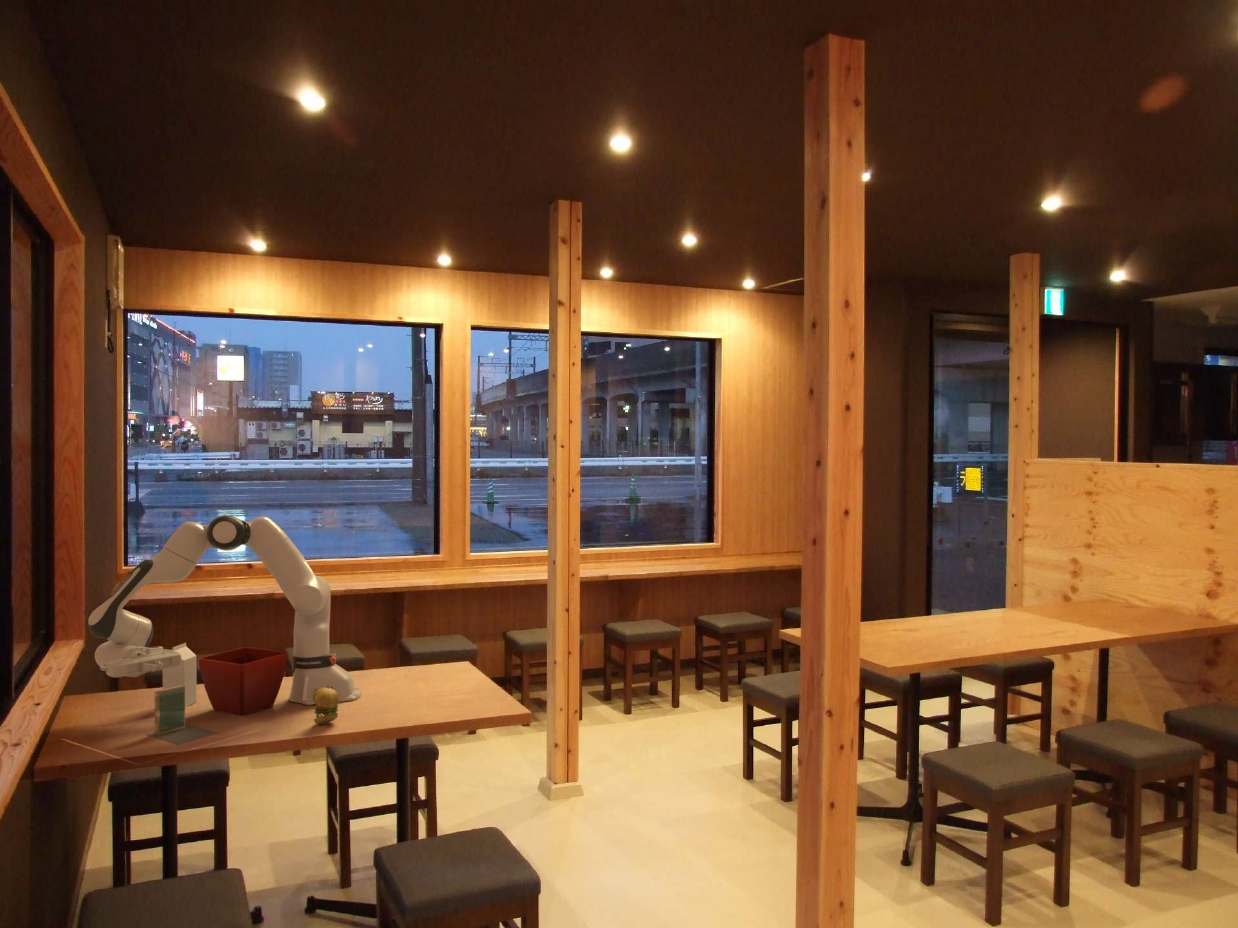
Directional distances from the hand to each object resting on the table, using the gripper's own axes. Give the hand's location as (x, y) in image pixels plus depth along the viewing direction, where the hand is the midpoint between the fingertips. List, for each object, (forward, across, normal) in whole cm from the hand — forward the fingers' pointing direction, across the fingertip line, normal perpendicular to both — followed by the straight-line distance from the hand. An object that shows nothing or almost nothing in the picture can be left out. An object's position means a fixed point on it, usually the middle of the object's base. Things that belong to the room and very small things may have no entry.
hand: (158, 667), depth 263 cm
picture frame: (+5, 0, +17) cm, 18 cm away
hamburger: (+37, +30, +17) cm, 51 cm away
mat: (+11, 0, +18) cm, 21 cm away
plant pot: (+2, +27, +18) cm, 32 cm away
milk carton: (-19, +18, +18) cm, 32 cm away
